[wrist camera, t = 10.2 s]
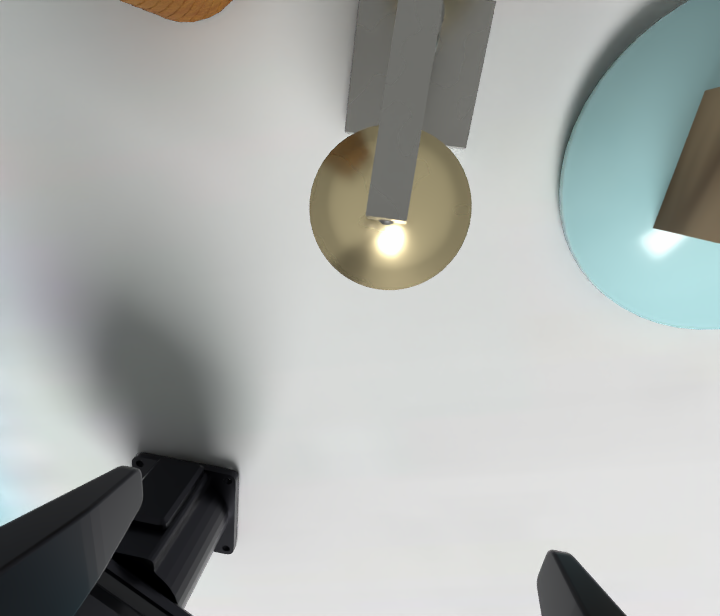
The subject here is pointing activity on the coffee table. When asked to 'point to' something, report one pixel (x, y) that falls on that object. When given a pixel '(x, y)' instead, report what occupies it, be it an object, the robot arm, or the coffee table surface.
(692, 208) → the tan block
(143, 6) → the disposable coffee cup
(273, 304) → the coffee table surface
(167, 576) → the robot arm
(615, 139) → the teal dish
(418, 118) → the balance
